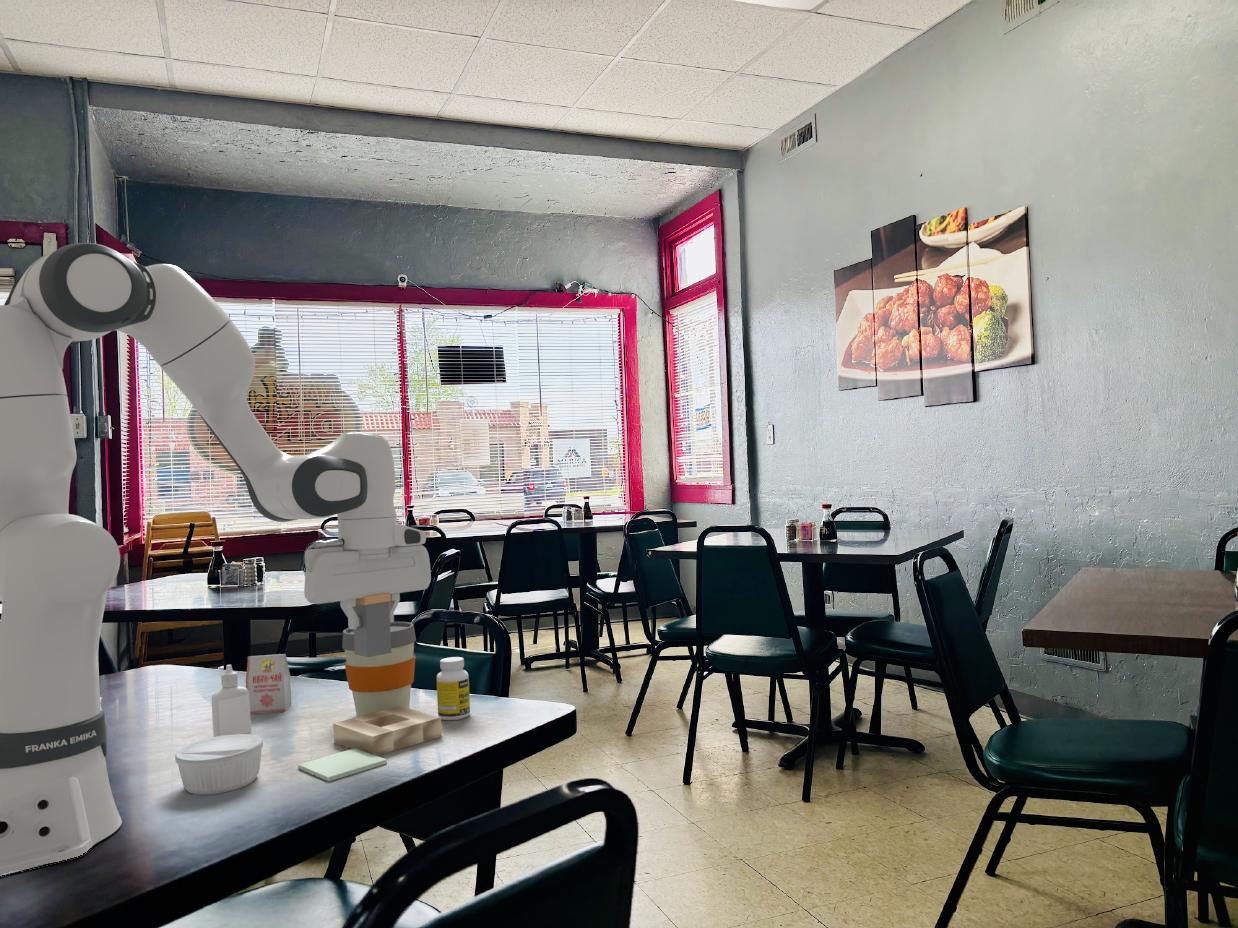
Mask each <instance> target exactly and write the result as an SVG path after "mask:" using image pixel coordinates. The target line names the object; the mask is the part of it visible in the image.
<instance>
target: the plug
mask: <svg viewBox="0 0 1238 928" xmlns="http://www.w3.org/2000/svg"><path fill="white" fill-rule="evenodd" d="M355 601H356V606H354V607H352V608H353V609H354V611H355V613H356V615H357V616H362V618H363V621H362V623H363V627H362V628H358V629H354V646H355V655H359V656H364V657H373V656H377V655H382V654H387V653H391V633H390V613H389V601H391V596H390V593H386V594H379V595H373V596H366V597H363V598H359V599H355Z"/></svg>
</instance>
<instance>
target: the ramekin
mask: <svg viewBox="0 0 1238 928" xmlns="http://www.w3.org/2000/svg"><path fill="white" fill-rule="evenodd" d="M263 747H264V740H263V738H262V737H261V736H259V735H256V734H252V733H251V734H235V735H224V736H216V737H212V736H211V737H209V738H208V737H207V738H204V739H201V740H198V741H194V742H191V743H189V744H187V745H185V746H183V747H181V748H180V749H179V750H177V751H176V753H175V756H174V757H175V763H176V764H177V767H178V770H179V771H178V772H179V774H180V775H179V776H180V779H181V783H182V785H183V787H184V789H185V790H186V791H187V792H189V794H190V793H191V794H193V793H195V794H194V795H201V794H205V795H215V794H214V793H217V794H222V793H227V792H230V791H231V790H232V791H235V790H238V789H241V788H244V787H245V786H247V785H250V784H251V783H252V782H254V781H255V780H256V778H257V776H258V775H259V774H260V768H261V767H260V766H261V760H262V759H261V758H262V757H261V756H262V749H263ZM232 791H231V792H232Z"/></svg>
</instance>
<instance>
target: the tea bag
mask: <svg viewBox="0 0 1238 928" xmlns="http://www.w3.org/2000/svg"><path fill="white" fill-rule="evenodd" d="M245 688H247V689H248V691H249V701H250V715H251V714H261V713H260V712H265V713H277V712H278V713H279V711H280V712H286V711H287V710H288V709H290V708H291V707H292V706H293V705H292V691H291V690H292V689H291V673H290V669H289V664H288V659H287V653H282V654H281V653H278V654H266V655H250V656H247V663H246V675H245ZM289 707H290V708H289Z"/></svg>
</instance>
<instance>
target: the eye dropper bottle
mask: <svg viewBox="0 0 1238 928" xmlns="http://www.w3.org/2000/svg"><path fill="white" fill-rule="evenodd" d="M220 675H221V676H220V677H221V678H220V679H221V687H222V688H220V689H218V690H217V691H215V692H214V693H213V694H212V696H211V717H212V735H213V737H216V736H224V735H235V734H251V735H252V724H251V723H252V721H251V714H250V701H249V691H248V689H247V688H246V686H245V687H244V686H242V685H241V686H240V685H239V682H238V681H239V679H238V678H239V677H238V672H237V671H234V670H233V667H232V664H227V665H226V668H225V671H224V673H221V674H220Z"/></svg>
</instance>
